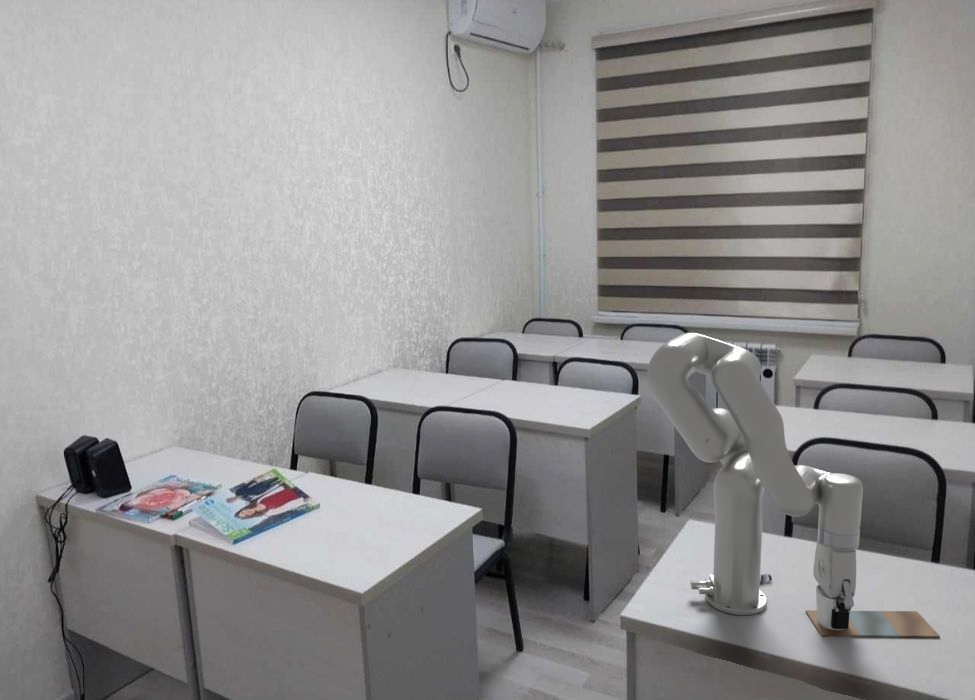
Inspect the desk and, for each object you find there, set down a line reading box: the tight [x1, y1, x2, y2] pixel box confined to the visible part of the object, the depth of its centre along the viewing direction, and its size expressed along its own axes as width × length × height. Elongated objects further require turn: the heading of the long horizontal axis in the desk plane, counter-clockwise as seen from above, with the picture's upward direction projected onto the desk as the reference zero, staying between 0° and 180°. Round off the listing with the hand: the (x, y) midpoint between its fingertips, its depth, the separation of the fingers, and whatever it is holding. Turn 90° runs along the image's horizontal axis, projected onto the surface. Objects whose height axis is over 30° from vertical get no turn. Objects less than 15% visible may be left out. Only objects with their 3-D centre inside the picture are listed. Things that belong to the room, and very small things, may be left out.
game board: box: [805, 609, 941, 639], centre depth 152 cm, size 22×9×1 cm, turn 86°
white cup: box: [815, 584, 850, 630], centre depth 152 cm, size 7×7×7 cm
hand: (832, 617), depth 152 cm, fingers closed on white cup, 6 cm apart
